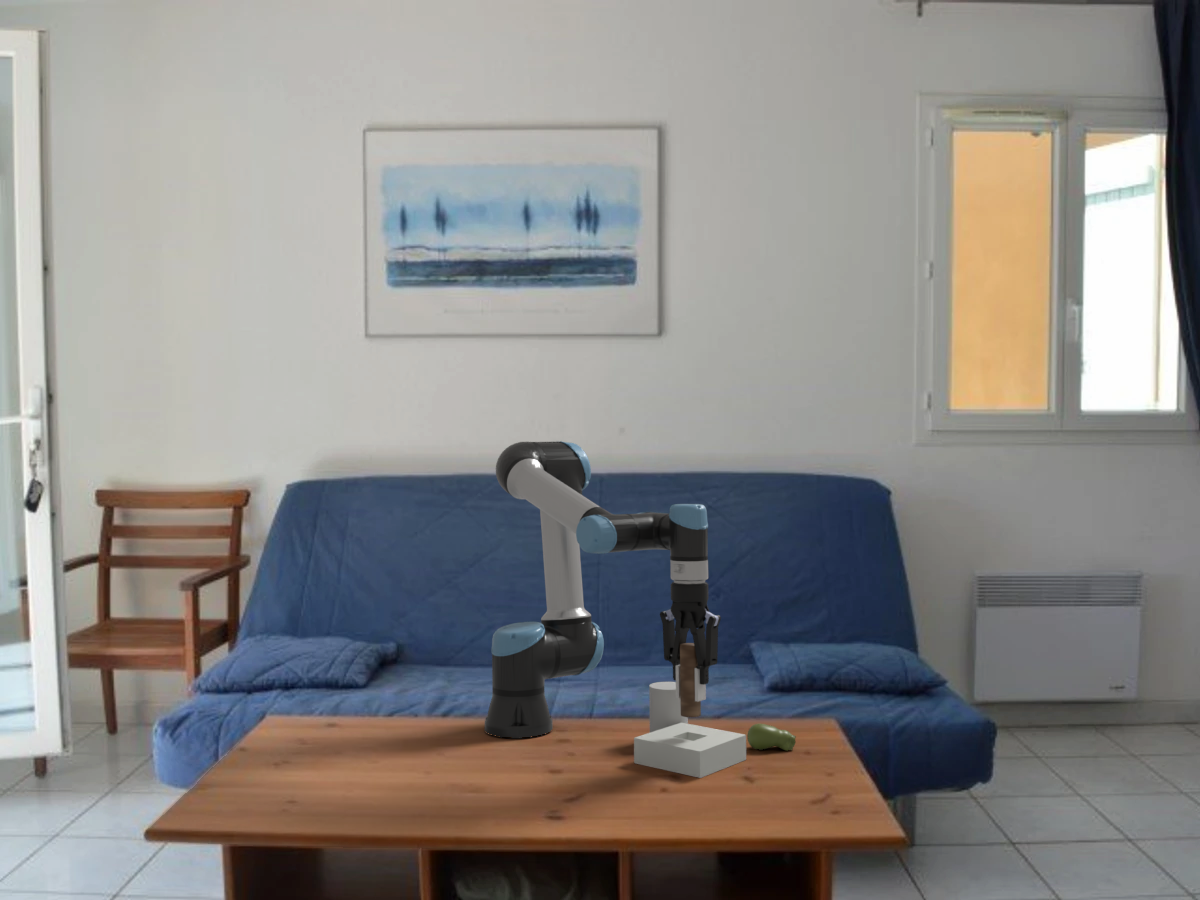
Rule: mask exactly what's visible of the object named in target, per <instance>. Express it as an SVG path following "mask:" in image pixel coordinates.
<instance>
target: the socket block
mask: <svg viewBox="0 0 1200 900" xmlns="http://www.w3.org/2000/svg"><path fill="white" fill-rule="evenodd" d="M746 760H747V734H744V733H739V732H734V731H729V730H723V729H716V728H712V727H706V726H703V725H702V726H701V725H697V724H693V723H691V724H690V723H688V724H687V723H678V724H675V725H672V726H669V727H666V728H663V729H660V730H657V731H654V732H650V731H649V732H647V733H644V734H642V735H639V736H635V737H634V738H633V763H634V764H636V765H637V764H638V765H641V766H646V767H650V768H655V769H658V770H663V771H668V772H671V773H672V772H673V773H677V774H682V775H686V776H689V777H694V778H699V779H701V778H705V777H706V776H709V775H712V774H714V773H716V772H719V771H721V770H724V769H726V768H729V767H731V766H734V765H736V764H739V763H742V762H744V761H746Z"/></svg>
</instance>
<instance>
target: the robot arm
mask: <svg viewBox="0 0 1200 900" xmlns="http://www.w3.org/2000/svg"><path fill="white" fill-rule="evenodd" d="M591 469H592V468H591V463H590V460H589V456H588V455H587V453H586V452H585V450H584V449H582V447H581V446H580V445H578V444H577V443H574V442H567V441H562V440H561V441H559V440H556V441H519V442H518V441H517V442H516V443H513V444H511V445H509V446H508V447H506V448H504V450H503V451H502V452H501V453H500V454H499V457H498V459H497V460H496V464H495V476H496V480H497V481H498V484H499V486H501V488H502V489H503V490H504V491H505V492H506V493H507V494H509V495H510V496H512V497H513V498H514V499H516V500H526V501H527V502H528V503H530V504H531V505H533V506H534V507H535V508H537V509H539V513H540V514H539V515H540V526H541V527H540V528H541V530H540V531H541V541H542V543H541V545H542V554H543V555H542V557H543V569H544V570H543V571H544V573H543V574H544V586H545V587H544V588H545V599H546V612H545V613H544V614H543V615H542V616H541V619H540V622H538V621H523V622H514V623H510V624H506V625H503V626H501V627H499V628H497V629H496V630H495V632H494V633H493V635H492V640H491V648H490V651H491V665H492V666H491V668H492V670H491V672H492V674H491V679H492V681H491V682H492V683H491V686H492V690H491V691H492V693H491V694H492V696H491V700H490V702H489V707H488V710H487V716H486V717H485V719H484V732H485V731H486V732H487V733H489V734H492V735H496V736H500V737H499V738H502V737H512V738H511V739H523V738H522V737H530V738H532V737H531V736H537V735H541V736H543V735H542V734H545V733H548V732H550V731H551V730H552V729H553V727H554V726H553V725H554V724H553V717H552V715H550V709H549V706H548V702H547V698H546V695H545V691H546V690H545V683H546V681H545V680H548V679H551V680H552V679H555V678H562V677H569V676H579V675H581V674H585V673H589V672H592V671H593V670H595V668H597V666H598V664H599V663H600V662H601V660H602V657H603V653H604V648H605V647H604V646H605V641H604V635H603V633H602V631H601V628H600V626H599V625H598V624H597V623H595V622H594V621H592V614H591V613H590V612H589V611H588V610H586V608H585V606H584V605H585V604H584V590H583V578H582V577H583V576H582V574H583V573H582V563H581V550H582V551H583V552H585V553H588V554H597V555H598V554H599V555H603V554H604V555H605V554H607V553H620V552H631V551H632V552H634V551H647V550H661V551H662V550H667V551H669V552H670V553H669V554H670V556H669V558H670V579H671V580H672V582H671V583H670V600H671V602H672V604H671V606H670V609H667V610H664V611H660V613H659V617H660V620H661V623H662V640H663V658H664V661H669V662H670V664H671V665H672V679H673V681H675V682H676V698H678V699H679V698H681V696H680V644H683V643H687V638H688V632H689V631H690V633H691V635H692V639H693V643H694V646H695V652H696V657H697V663H698V666H696V668H695V701H697V702H699V701H701V702H702V701H704V700H705V701H706V700H707V689H706V688H707V686H706V685H708V684H709V682H710V681H709V680H710V679H709V678H710V677H709V676H710V675H709V668H710V667H712V666H715V665H717V663H718V647H719V645H718V643H719V625H720V622H721V620H722V617H721V615H719V614H717V615H715V614H714V613H712V612H710V609H709V606H708V600H709V583H708V582H707V581H706V580H708V579H709V559H708V558H709V557H708V547H709V546H708V545H709V544H708V543H709V542H708V538H709V537H708V535H709V534H708V533H709V530H708V529H709V523H708V512H707V508H706V506H705V505H704V504H701V503H700V504H699V503H677V504H676V503H675V504H672V505H671V506H670V508H669V513H664V512H654V511H643V512H638V513H621V514H616V513H615V514H613V513H612V512H609V511H608V510H606V509H605V508H603V507H601V506H600V505H598V504H597V503H595V502H593V501H592V500H590V499H589V498H587V497H586V496H584V495H583V490H585V489H586V488H587V487H588V486H589V483H590V480H591V477H592V470H591ZM705 625H706V626H705ZM552 731H553V730H552ZM552 731H551V732H552ZM486 732H485V733H486ZM551 732H550V733H551ZM487 733H486V734H487ZM489 734H488V735H489ZM548 734H549V733H548ZM545 735H546V734H545ZM537 737H538V736H537Z"/></svg>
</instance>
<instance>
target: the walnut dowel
mask: <svg viewBox="0 0 1200 900" xmlns="http://www.w3.org/2000/svg"><path fill="white" fill-rule="evenodd" d="M696 666H698V663H697V657H696V652H695V646H694V642H686V643H683V644H680V696H681V716H683V717H688V718H699V717H701V716H702V711H701V709H702V706H701V705H702V703H701V702H702V701H699V702H697V701H695V668H696Z"/></svg>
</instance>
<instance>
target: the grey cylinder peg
mask: <svg viewBox="0 0 1200 900" xmlns="http://www.w3.org/2000/svg"><path fill="white" fill-rule="evenodd" d="M648 686H649V687H648V688H649V692H648V693H649V697H648V698H649V700H648V701H649V733H650V732H654V731H657V730H660V729H663V728H666V727H669V726H672V725H675V724H678V723H687V724H689V722H688V721H689V720H688V719H689V717H683V716H681V698H679V699H678V698H676V681H657V682H653V683H650V684H649V685H648Z"/></svg>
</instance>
